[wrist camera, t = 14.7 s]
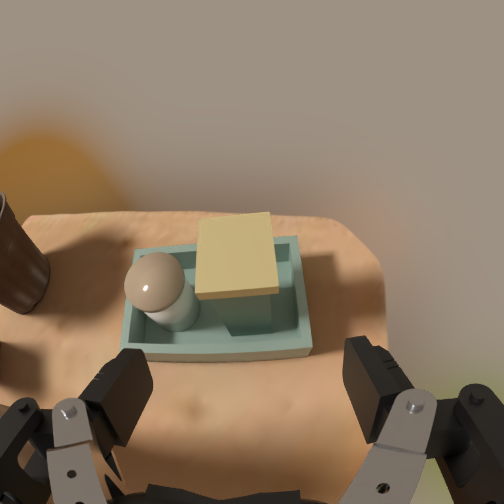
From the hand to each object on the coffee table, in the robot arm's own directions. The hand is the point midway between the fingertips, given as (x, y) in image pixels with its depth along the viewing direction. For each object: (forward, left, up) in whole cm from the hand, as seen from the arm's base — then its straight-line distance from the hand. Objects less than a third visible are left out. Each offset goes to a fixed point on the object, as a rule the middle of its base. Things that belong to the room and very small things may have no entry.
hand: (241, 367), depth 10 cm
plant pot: (-41, +15, -21) cm, 48 cm away
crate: (-5, +10, -21) cm, 24 cm away
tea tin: (-1, +10, -20) cm, 22 cm away
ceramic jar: (-10, +10, -20) cm, 24 cm away
